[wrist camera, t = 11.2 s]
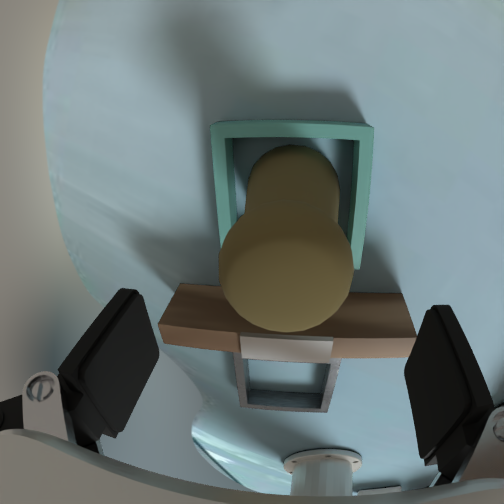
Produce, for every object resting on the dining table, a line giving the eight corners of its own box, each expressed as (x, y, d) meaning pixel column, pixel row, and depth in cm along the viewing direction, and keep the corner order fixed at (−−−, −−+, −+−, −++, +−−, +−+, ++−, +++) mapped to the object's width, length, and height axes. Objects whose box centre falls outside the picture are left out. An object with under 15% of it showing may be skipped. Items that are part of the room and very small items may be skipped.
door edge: (396, 313, 23) (410, 362, 19) (184, 303, 26) (162, 348, 22) (402, 292, 22) (419, 340, 18) (180, 282, 25) (155, 326, 20)
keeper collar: (327, 397, 30) (327, 412, 29) (243, 392, 32) (240, 406, 30) (340, 340, 26) (341, 357, 24) (237, 335, 27) (232, 351, 25)
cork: (231, 202, 21) (172, 308, 12) (277, 126, 18) (249, 174, 8) (306, 246, 22) (303, 373, 12) (357, 178, 19) (407, 276, 9)
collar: (355, 254, 21) (359, 269, 20) (228, 249, 23) (222, 263, 21) (367, 123, 17) (374, 127, 15) (218, 121, 18) (209, 125, 17)
